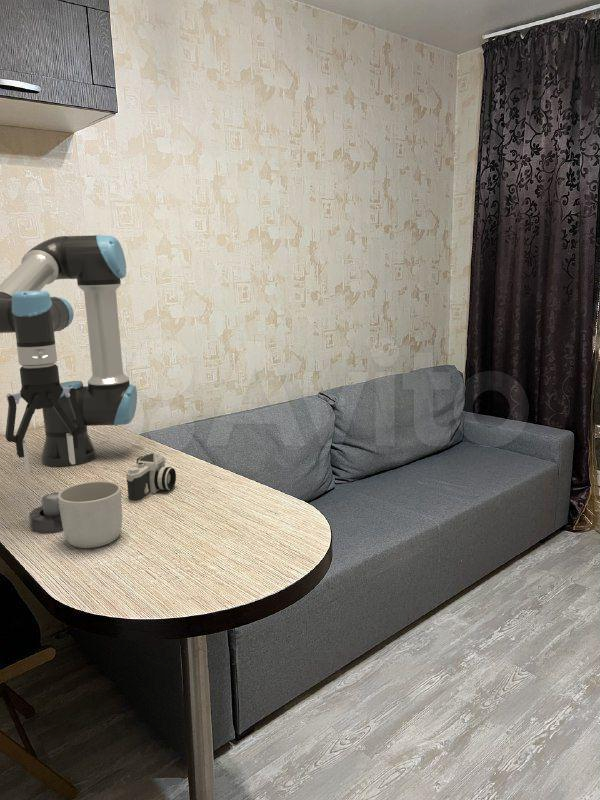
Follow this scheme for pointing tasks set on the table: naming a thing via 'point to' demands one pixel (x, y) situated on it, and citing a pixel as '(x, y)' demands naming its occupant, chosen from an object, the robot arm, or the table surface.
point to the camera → (149, 477)
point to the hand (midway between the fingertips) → (50, 466)
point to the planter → (91, 513)
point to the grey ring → (44, 522)
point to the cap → (51, 505)
